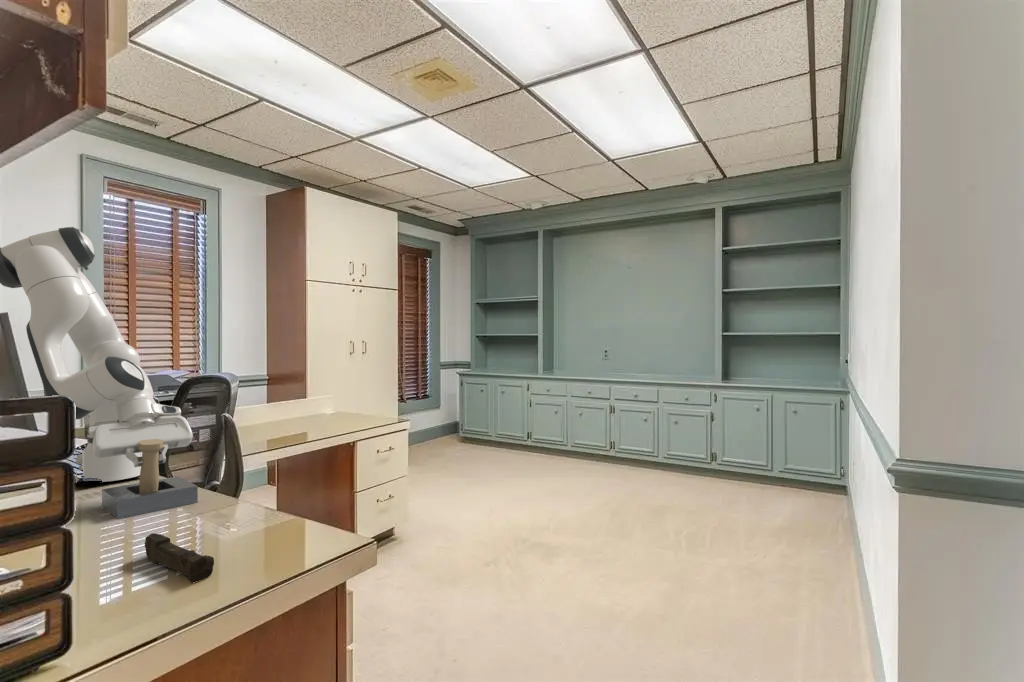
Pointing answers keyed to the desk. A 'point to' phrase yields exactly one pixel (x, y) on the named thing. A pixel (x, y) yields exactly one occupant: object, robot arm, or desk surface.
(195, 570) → the hand tool
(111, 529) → the desk surface
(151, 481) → the handle
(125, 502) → the jig
